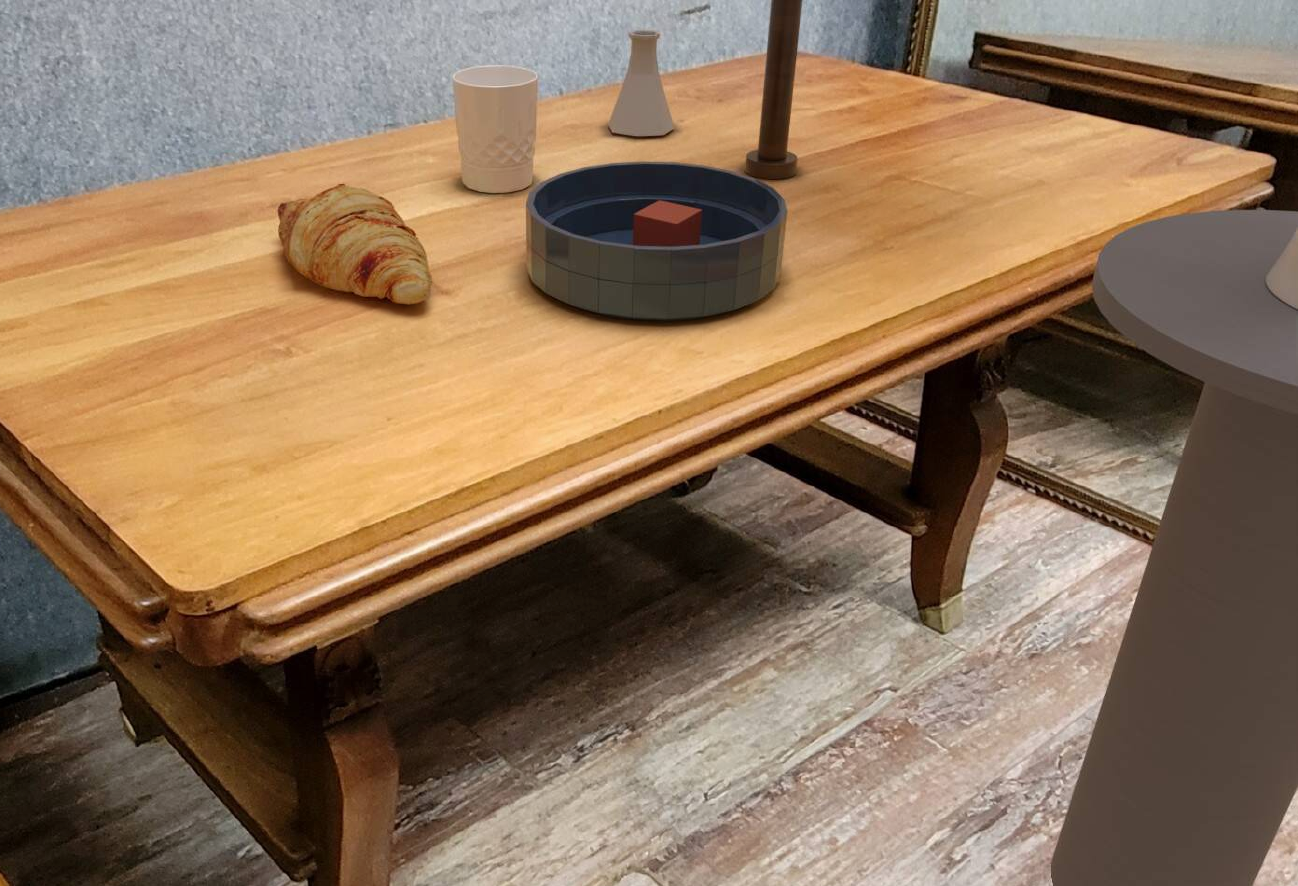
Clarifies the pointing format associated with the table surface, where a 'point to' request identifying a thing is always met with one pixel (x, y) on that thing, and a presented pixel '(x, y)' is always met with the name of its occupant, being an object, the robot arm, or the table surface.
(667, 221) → the block
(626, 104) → the flask
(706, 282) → the bowl
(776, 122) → the rod
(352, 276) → the croissant
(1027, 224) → the table surface
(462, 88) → the white cup
